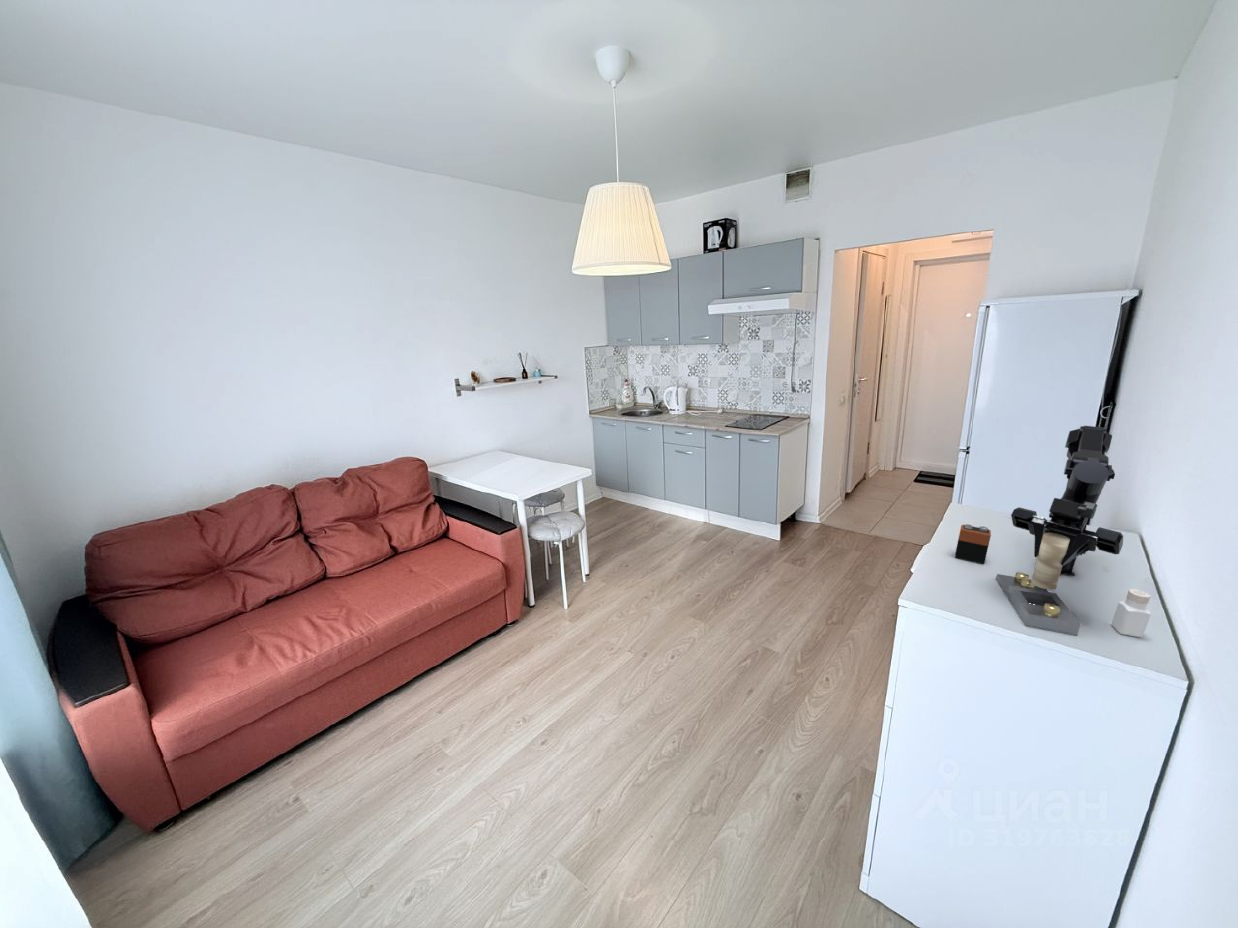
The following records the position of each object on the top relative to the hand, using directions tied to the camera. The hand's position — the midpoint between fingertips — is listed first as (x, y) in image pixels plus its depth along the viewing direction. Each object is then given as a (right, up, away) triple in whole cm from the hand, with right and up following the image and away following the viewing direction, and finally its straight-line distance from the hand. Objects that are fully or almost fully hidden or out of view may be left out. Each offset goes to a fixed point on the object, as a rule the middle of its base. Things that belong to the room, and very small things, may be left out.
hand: (1048, 560), depth 108 cm
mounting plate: (+2, -12, +7) cm, 14 cm away
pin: (+1, -6, +3) cm, 7 cm away
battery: (+4, -6, +30) cm, 30 cm away
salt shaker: (+14, -15, -3) cm, 21 cm away
